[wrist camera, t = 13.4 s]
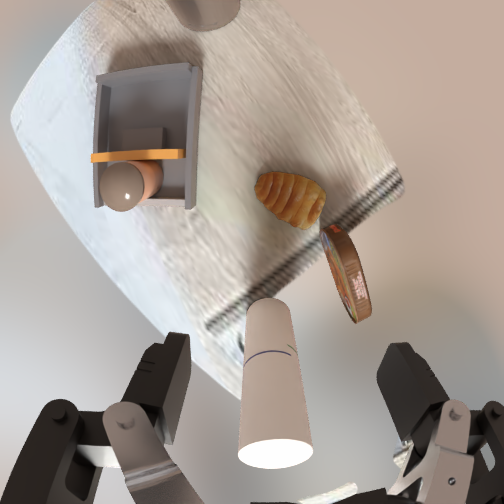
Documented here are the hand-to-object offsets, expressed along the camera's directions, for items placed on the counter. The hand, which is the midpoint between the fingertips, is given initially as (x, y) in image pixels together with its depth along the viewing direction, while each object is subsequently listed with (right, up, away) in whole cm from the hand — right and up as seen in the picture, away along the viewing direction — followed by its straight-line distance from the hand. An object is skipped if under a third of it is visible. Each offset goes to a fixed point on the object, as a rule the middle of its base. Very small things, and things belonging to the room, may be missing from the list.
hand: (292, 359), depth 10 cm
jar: (-17, +15, +26) cm, 34 cm away
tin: (+12, +2, +31) cm, 33 cm away
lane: (-16, +21, +24) cm, 36 cm away
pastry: (+4, +12, +28) cm, 30 cm away
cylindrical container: (+1, -6, +34) cm, 35 cm away
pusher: (-16, +19, +24) cm, 35 cm away
